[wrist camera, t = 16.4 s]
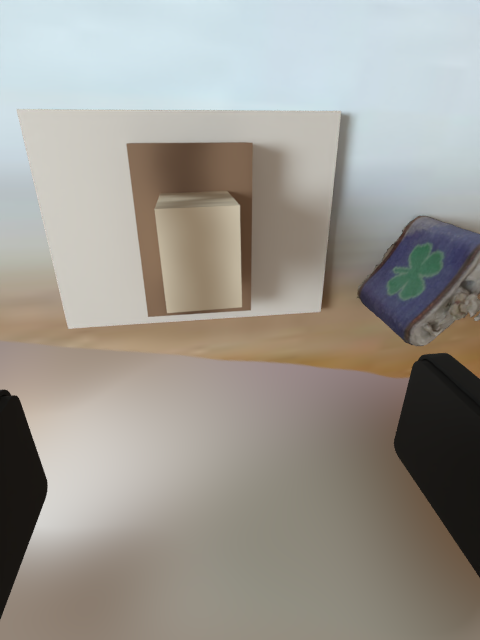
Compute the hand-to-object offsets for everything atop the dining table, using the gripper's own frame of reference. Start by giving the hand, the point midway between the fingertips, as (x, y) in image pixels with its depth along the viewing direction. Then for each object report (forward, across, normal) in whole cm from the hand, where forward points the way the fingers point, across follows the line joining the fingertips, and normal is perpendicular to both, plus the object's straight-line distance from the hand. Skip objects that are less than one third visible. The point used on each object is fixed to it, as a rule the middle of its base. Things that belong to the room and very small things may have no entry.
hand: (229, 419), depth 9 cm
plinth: (+22, 0, 0) cm, 22 cm away
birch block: (+19, 0, 0) cm, 19 cm away
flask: (+24, -18, +4) cm, 30 cm away
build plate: (+24, 0, 0) cm, 24 cm away
